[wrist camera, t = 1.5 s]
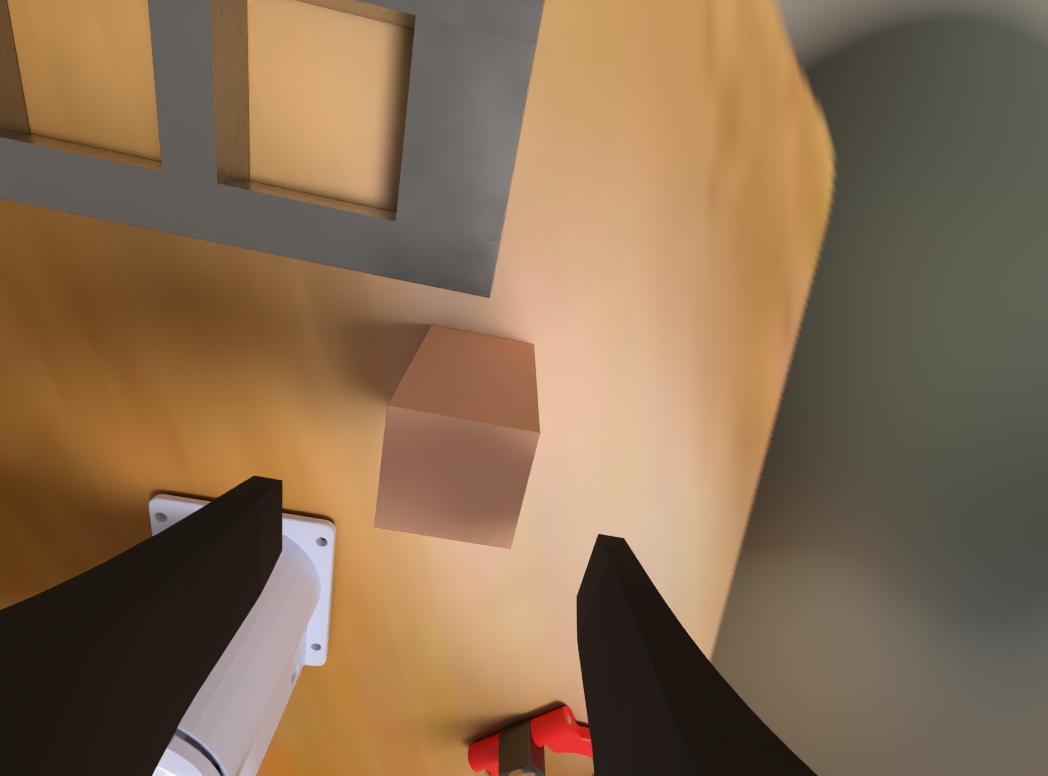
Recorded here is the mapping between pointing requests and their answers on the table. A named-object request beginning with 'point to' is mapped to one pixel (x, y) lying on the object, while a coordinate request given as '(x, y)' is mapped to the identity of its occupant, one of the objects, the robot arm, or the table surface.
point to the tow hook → (530, 745)
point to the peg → (460, 439)
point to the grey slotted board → (286, 215)
